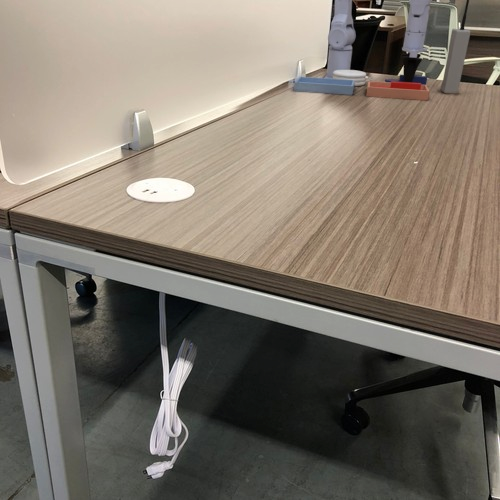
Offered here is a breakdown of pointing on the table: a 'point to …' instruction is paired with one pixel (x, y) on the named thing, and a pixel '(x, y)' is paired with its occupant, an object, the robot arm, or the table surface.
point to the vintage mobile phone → (456, 58)
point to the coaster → (351, 76)
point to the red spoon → (403, 85)
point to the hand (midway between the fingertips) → (407, 80)
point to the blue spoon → (415, 80)
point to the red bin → (396, 91)
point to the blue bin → (324, 85)
